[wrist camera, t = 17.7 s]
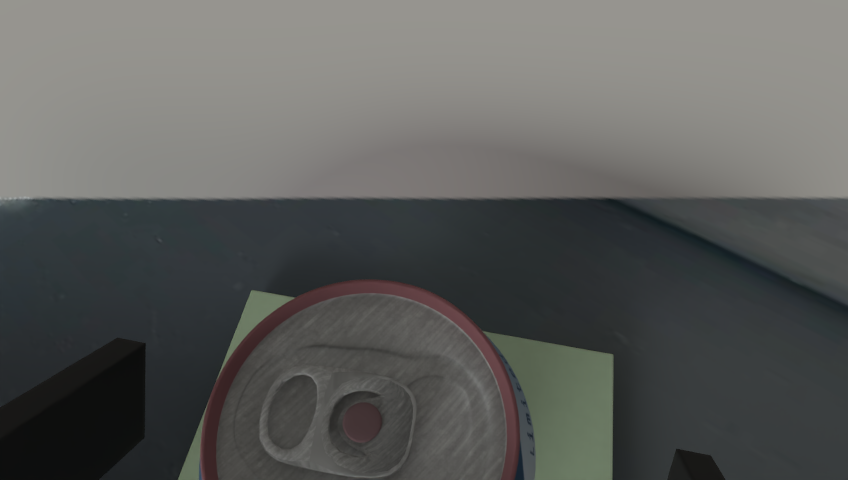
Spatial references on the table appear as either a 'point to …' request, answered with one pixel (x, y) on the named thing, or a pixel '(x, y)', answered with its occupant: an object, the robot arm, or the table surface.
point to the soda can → (367, 394)
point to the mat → (543, 389)
